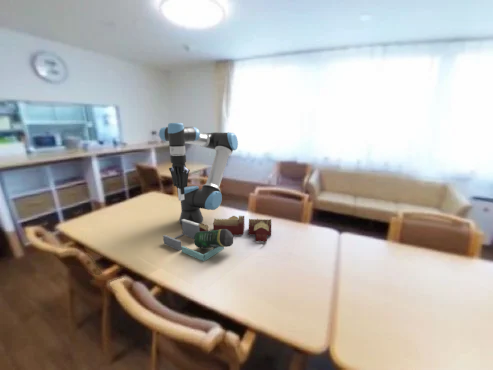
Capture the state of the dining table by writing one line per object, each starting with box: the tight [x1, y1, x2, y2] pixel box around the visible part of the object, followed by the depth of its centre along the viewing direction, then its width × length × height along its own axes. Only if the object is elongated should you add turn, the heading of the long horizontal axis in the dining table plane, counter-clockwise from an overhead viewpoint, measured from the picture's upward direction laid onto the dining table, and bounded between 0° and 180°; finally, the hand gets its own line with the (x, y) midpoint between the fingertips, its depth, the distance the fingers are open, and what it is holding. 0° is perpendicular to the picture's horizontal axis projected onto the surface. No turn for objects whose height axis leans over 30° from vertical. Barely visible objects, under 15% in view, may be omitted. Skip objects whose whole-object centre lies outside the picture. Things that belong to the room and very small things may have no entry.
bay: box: [162, 219, 200, 252], centre depth 129 cm, size 14×13×10 cm
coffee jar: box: [193, 229, 234, 250], centre depth 119 cm, size 10×8×19 cm
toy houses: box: [199, 215, 272, 242], centre depth 140 cm, size 45×20×10 cm, turn 86°
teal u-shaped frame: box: [181, 245, 225, 262], centre depth 121 cm, size 15×16×3 cm
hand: (181, 199), depth 124 cm, fingers closed
